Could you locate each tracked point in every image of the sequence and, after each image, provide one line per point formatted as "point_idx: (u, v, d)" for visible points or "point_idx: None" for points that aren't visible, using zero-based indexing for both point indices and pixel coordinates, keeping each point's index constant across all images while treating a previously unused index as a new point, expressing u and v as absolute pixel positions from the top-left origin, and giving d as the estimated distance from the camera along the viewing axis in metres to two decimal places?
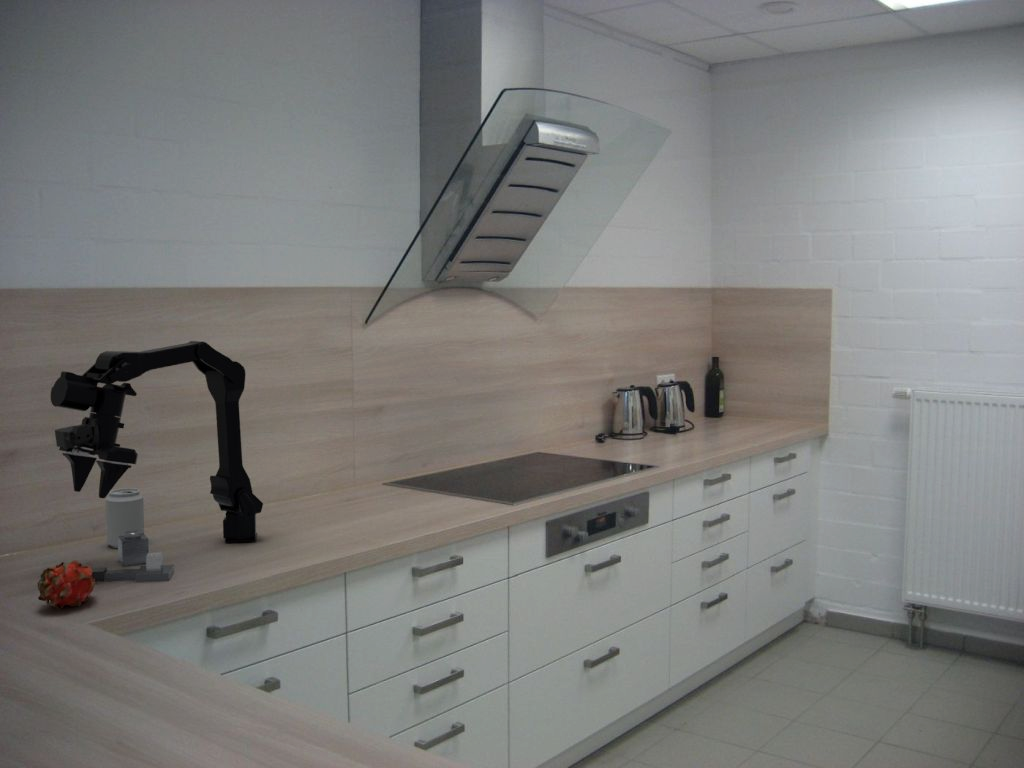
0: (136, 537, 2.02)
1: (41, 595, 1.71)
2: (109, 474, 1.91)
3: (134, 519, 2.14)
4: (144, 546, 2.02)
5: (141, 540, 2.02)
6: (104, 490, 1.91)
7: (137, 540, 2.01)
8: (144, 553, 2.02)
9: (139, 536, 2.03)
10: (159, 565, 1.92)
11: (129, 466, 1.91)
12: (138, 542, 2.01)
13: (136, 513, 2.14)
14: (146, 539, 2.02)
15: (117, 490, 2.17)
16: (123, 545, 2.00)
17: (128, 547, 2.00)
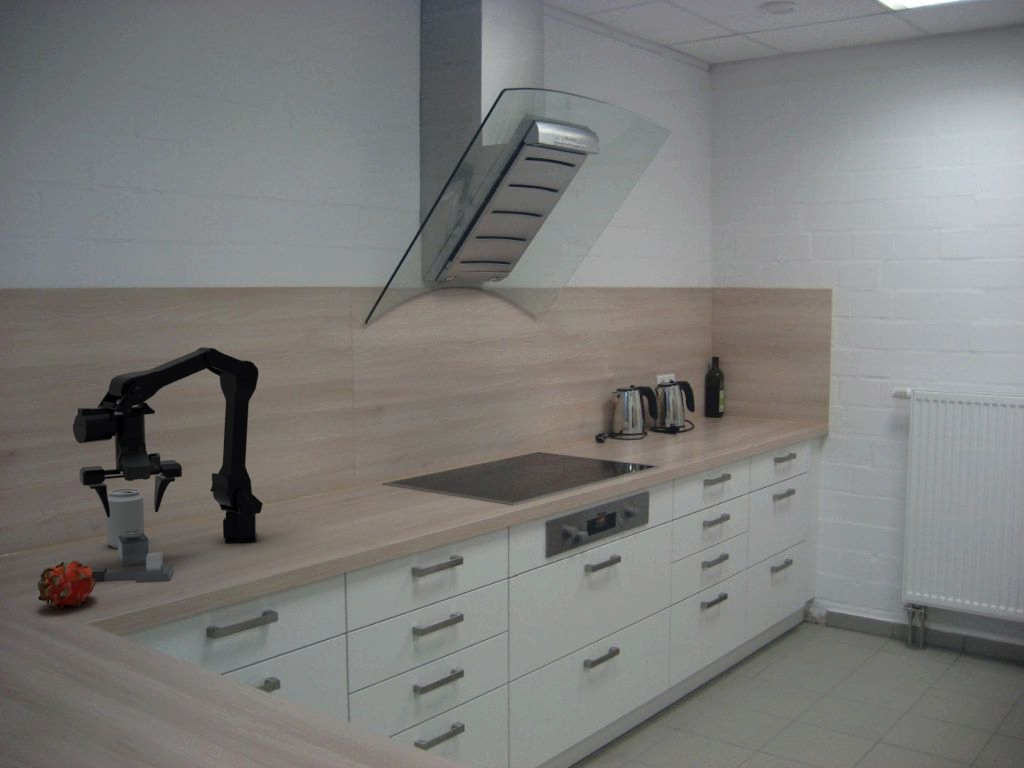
0: (136, 537, 2.02)
1: (41, 595, 1.71)
2: None
3: (134, 519, 2.14)
4: (144, 546, 2.02)
5: (141, 540, 2.02)
6: None
7: (137, 540, 2.01)
8: (144, 553, 2.02)
9: (139, 536, 2.03)
10: (159, 565, 1.92)
11: None
12: (138, 542, 2.01)
13: (136, 513, 2.14)
14: (146, 539, 2.02)
15: (117, 490, 2.17)
16: (123, 545, 2.00)
17: (128, 547, 2.00)
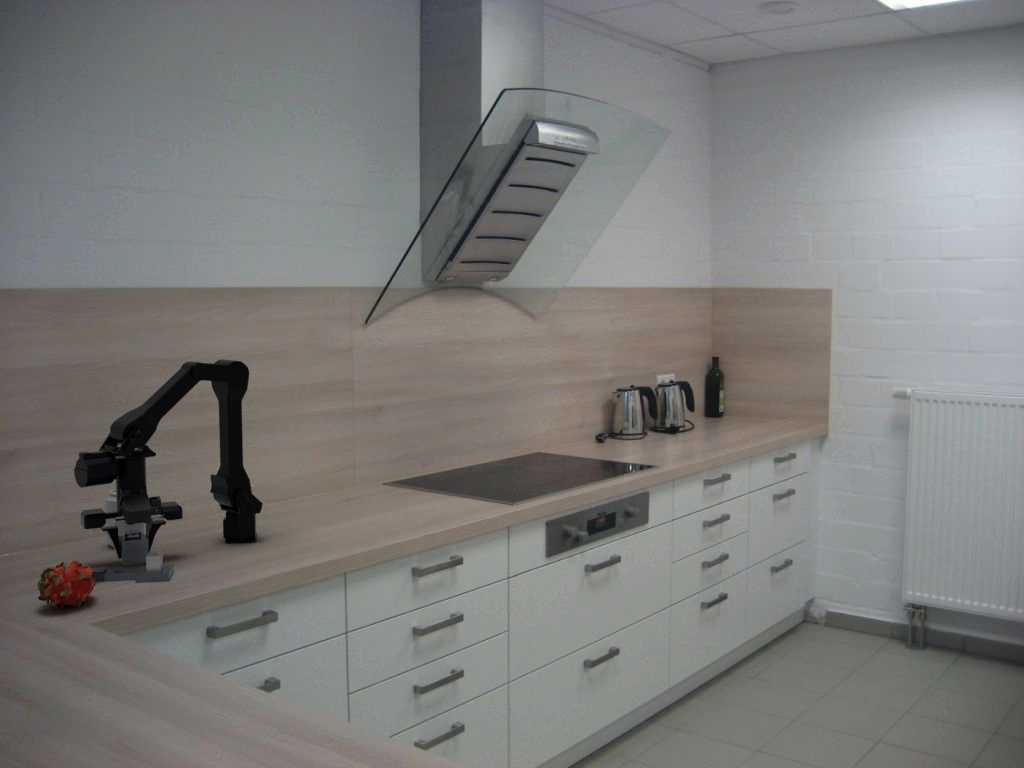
0: (136, 537, 2.02)
1: (41, 595, 1.71)
2: None
3: None
4: (144, 546, 2.02)
5: (141, 540, 2.02)
6: None
7: (137, 540, 2.01)
8: (144, 553, 2.02)
9: (139, 536, 2.03)
10: (159, 565, 1.92)
11: None
12: (138, 542, 2.01)
13: None
14: (146, 539, 2.02)
15: None
16: (123, 545, 2.00)
17: (128, 547, 2.00)
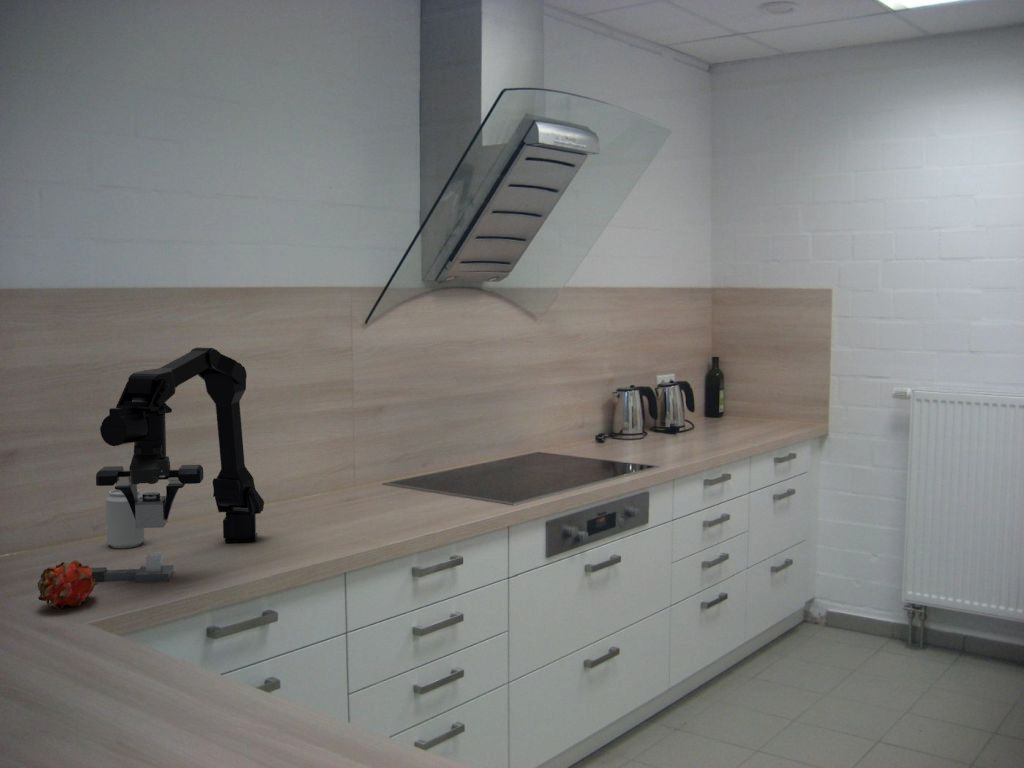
0: (152, 499, 1.90)
1: (41, 595, 1.71)
2: None
3: (134, 519, 2.14)
4: (159, 509, 1.90)
5: (156, 502, 1.89)
6: (169, 511, 1.92)
7: (151, 502, 1.89)
8: (158, 517, 1.90)
9: (156, 498, 1.91)
10: (159, 565, 1.91)
11: None
12: (152, 504, 1.89)
13: None
14: (161, 502, 1.90)
15: (117, 490, 2.17)
16: (136, 506, 1.89)
17: (141, 509, 1.89)
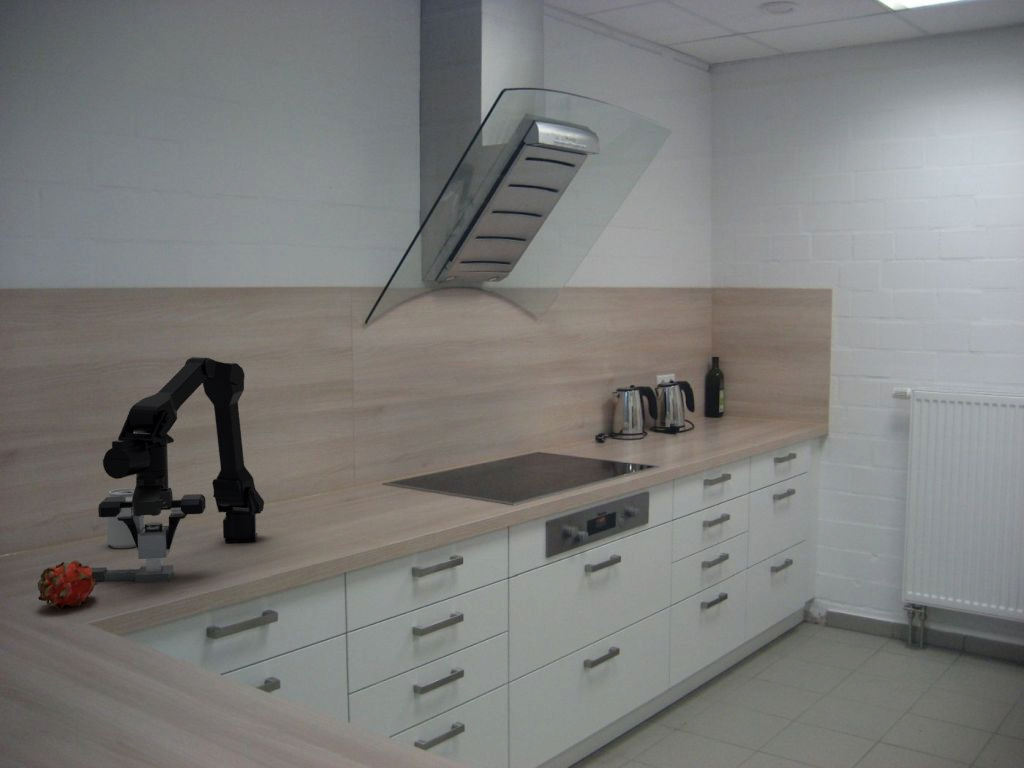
0: (154, 529, 1.91)
1: (41, 595, 1.71)
2: None
3: None
4: (161, 539, 1.90)
5: (158, 533, 1.90)
6: (171, 541, 1.93)
7: (154, 533, 1.90)
8: (161, 547, 1.90)
9: (158, 529, 1.91)
10: (159, 565, 1.91)
11: None
12: (155, 535, 1.90)
13: None
14: (163, 532, 1.90)
15: (117, 490, 2.17)
16: (139, 537, 1.89)
17: (144, 539, 1.90)
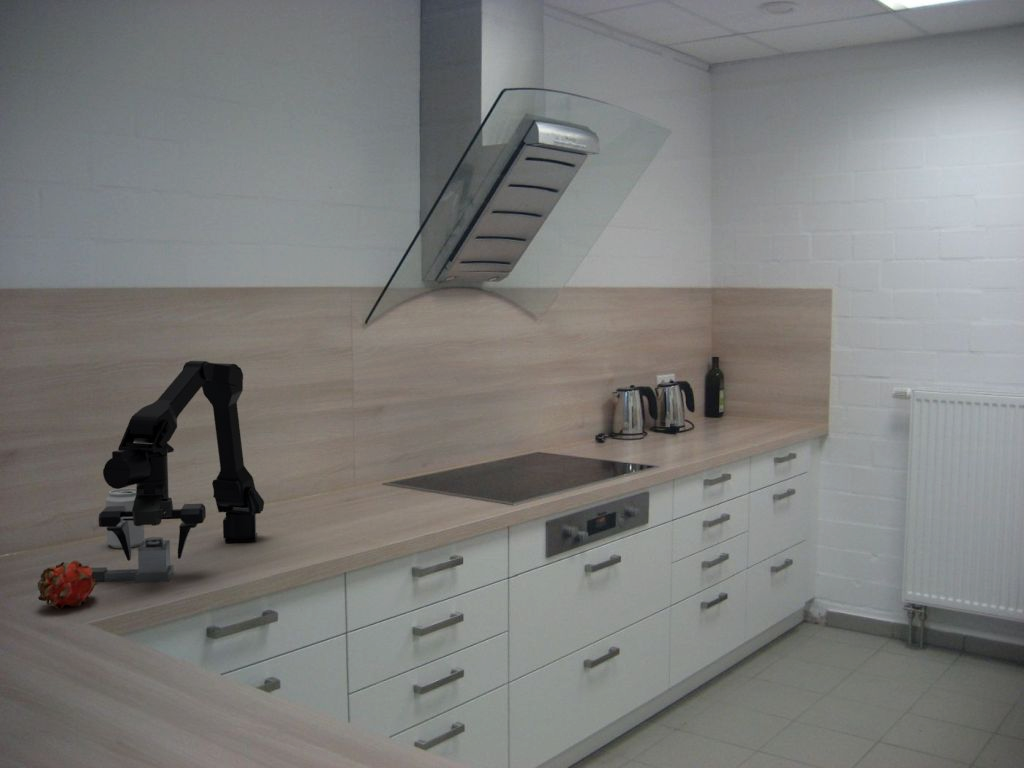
0: (155, 544, 1.91)
1: (41, 595, 1.71)
2: None
3: None
4: (162, 554, 1.90)
5: (159, 548, 1.90)
6: (182, 550, 1.93)
7: (154, 548, 1.90)
8: (161, 562, 1.90)
9: (158, 543, 1.91)
10: None
11: None
12: (155, 550, 1.90)
13: None
14: (163, 547, 1.90)
15: (117, 490, 2.17)
16: (139, 552, 1.90)
17: (144, 554, 1.90)
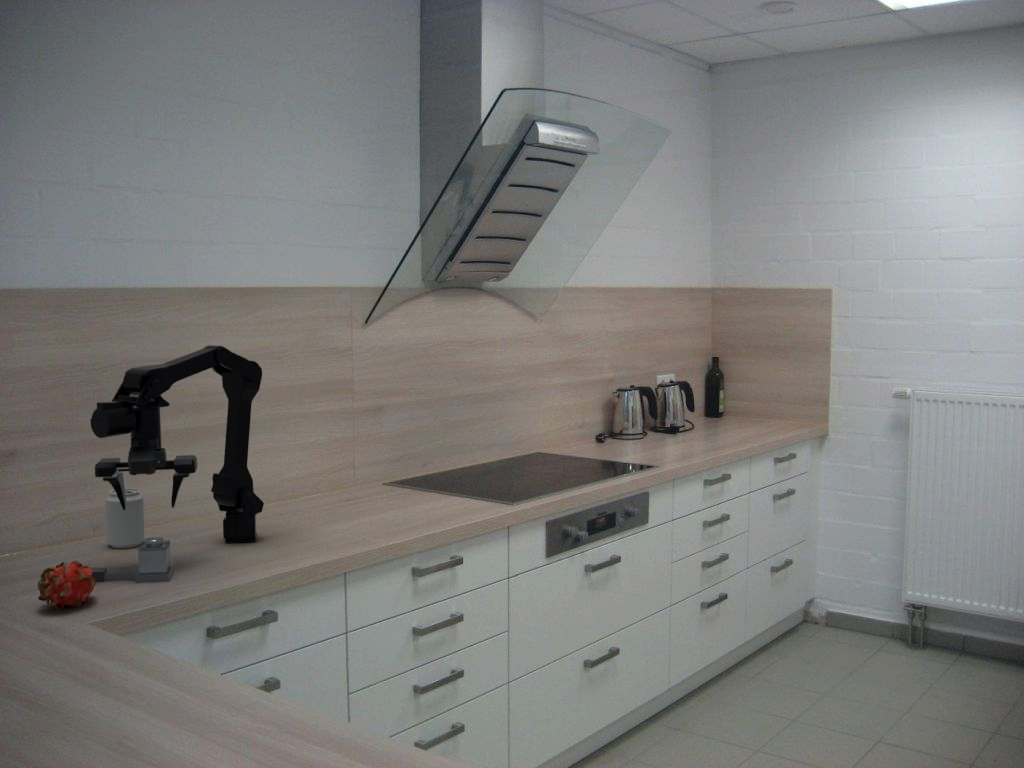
0: (155, 544, 1.91)
1: (41, 595, 1.71)
2: None
3: (134, 519, 2.14)
4: (162, 554, 1.90)
5: (159, 548, 1.90)
6: (175, 500, 2.02)
7: (154, 548, 1.90)
8: (161, 562, 1.90)
9: (159, 544, 1.91)
10: None
11: None
12: (155, 550, 1.90)
13: (136, 513, 2.14)
14: (164, 548, 1.90)
15: None
16: (139, 552, 1.89)
17: (144, 555, 1.90)
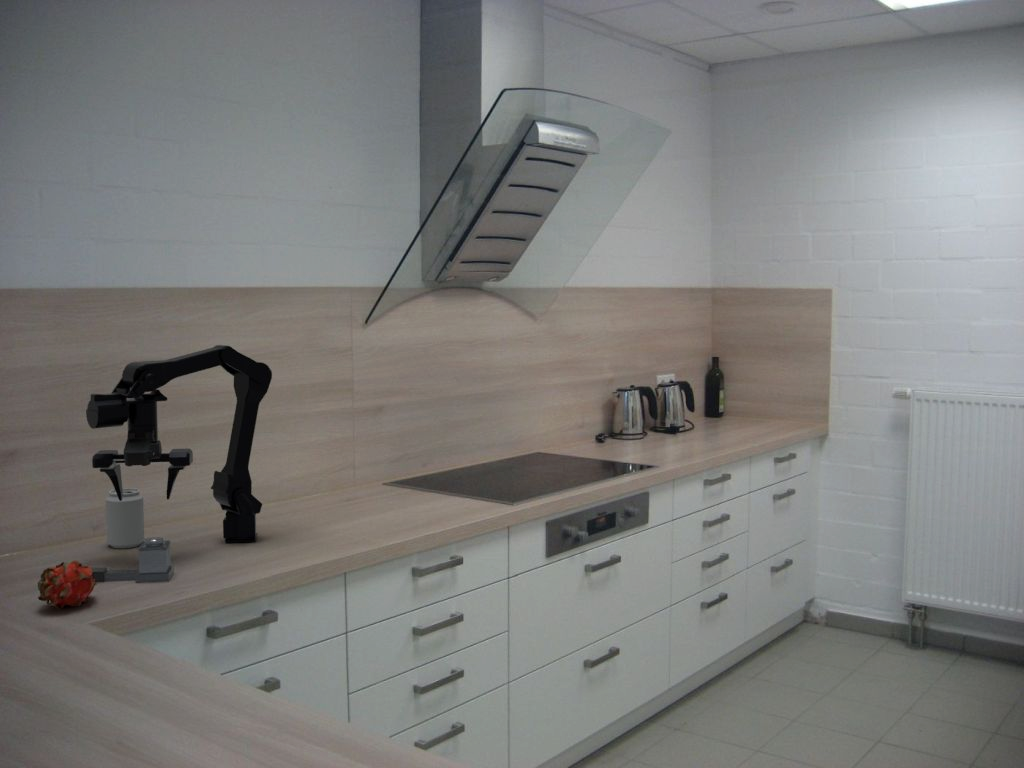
0: (155, 544, 1.91)
1: (41, 595, 1.71)
2: None
3: (134, 519, 2.14)
4: (162, 554, 1.90)
5: (159, 548, 1.90)
6: None
7: (154, 548, 1.90)
8: (162, 562, 1.90)
9: (159, 544, 1.91)
10: None
11: None
12: (155, 550, 1.90)
13: (136, 513, 2.14)
14: (164, 547, 1.90)
15: None
16: (140, 552, 1.89)
17: (145, 554, 1.90)
